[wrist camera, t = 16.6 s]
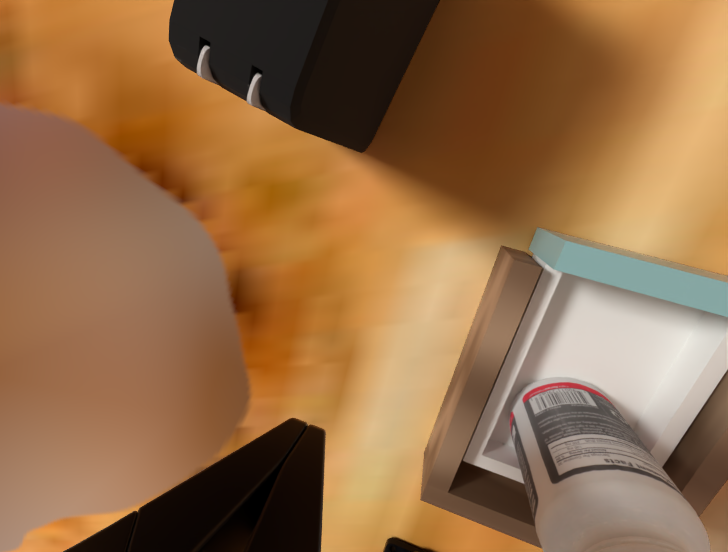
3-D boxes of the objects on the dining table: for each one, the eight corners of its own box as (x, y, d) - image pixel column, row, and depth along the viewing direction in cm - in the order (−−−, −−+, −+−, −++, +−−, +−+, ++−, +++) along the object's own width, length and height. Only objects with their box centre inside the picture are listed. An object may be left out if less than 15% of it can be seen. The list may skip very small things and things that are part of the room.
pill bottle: (583, 472, 19) (709, 736, 10) (491, 433, 20) (529, 647, 11) (635, 397, 17) (844, 633, 8) (532, 357, 18) (619, 534, 9)
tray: (610, 485, 20) (653, 564, 16) (456, 429, 21) (458, 488, 17) (739, 278, 16) (842, 312, 12) (537, 227, 17) (566, 240, 13)
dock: (611, 522, 21) (643, 589, 17) (424, 452, 22) (420, 499, 19) (749, 312, 16) (828, 346, 13) (501, 245, 18) (514, 259, 15)
